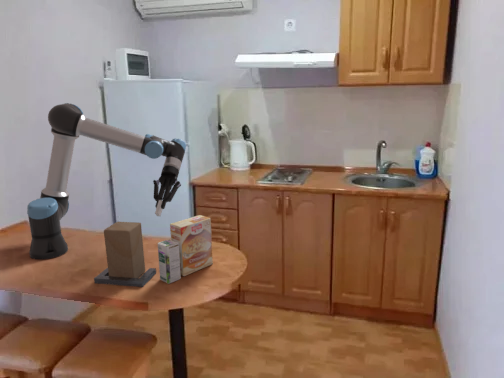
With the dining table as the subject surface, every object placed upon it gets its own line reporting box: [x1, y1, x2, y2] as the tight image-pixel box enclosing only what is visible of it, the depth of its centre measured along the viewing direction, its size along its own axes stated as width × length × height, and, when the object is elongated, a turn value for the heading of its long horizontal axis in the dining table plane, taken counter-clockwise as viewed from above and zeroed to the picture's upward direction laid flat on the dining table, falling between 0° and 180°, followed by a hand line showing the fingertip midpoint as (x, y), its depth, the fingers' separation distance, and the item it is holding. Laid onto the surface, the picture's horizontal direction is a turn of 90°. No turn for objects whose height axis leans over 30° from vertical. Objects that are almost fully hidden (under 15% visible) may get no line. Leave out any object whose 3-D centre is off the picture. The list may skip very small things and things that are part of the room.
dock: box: [93, 267, 157, 288], centre depth 157 cm, size 19×12×2 cm, turn 78°
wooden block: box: [103, 221, 146, 278], centre depth 156 cm, size 10×10×20 cm
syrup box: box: [157, 238, 182, 285], centre depth 153 cm, size 6×6×14 cm
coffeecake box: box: [169, 214, 213, 277], centre depth 162 cm, size 15×7×20 cm, turn 137°
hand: (157, 214), depth 180 cm, fingers closed
